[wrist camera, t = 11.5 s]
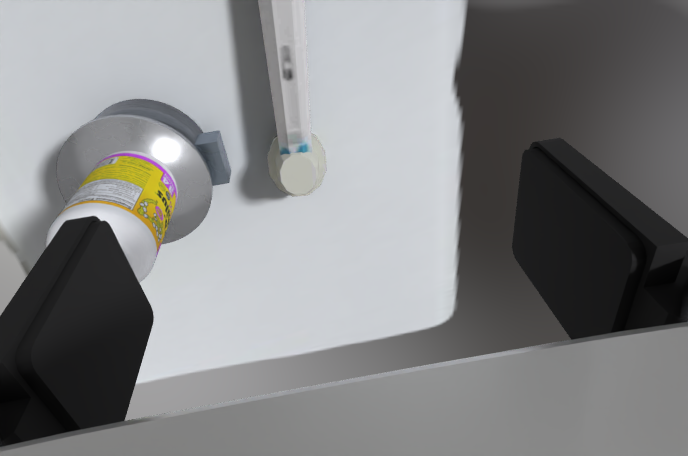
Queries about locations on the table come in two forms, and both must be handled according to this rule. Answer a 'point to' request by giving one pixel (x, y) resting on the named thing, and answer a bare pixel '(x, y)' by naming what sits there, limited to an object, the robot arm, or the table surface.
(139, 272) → the supplement bottle
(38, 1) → the table surface
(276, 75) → the light grey long piece
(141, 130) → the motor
